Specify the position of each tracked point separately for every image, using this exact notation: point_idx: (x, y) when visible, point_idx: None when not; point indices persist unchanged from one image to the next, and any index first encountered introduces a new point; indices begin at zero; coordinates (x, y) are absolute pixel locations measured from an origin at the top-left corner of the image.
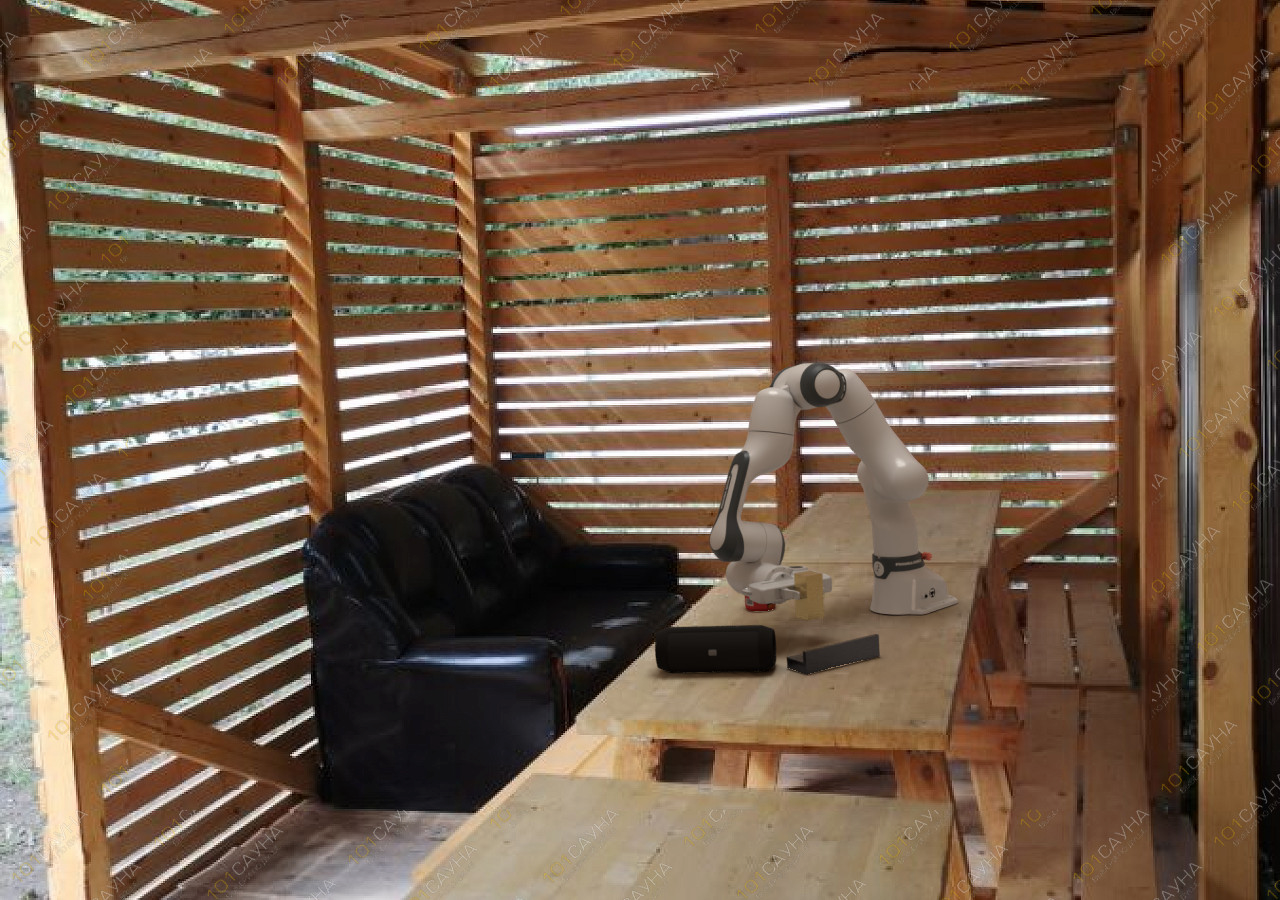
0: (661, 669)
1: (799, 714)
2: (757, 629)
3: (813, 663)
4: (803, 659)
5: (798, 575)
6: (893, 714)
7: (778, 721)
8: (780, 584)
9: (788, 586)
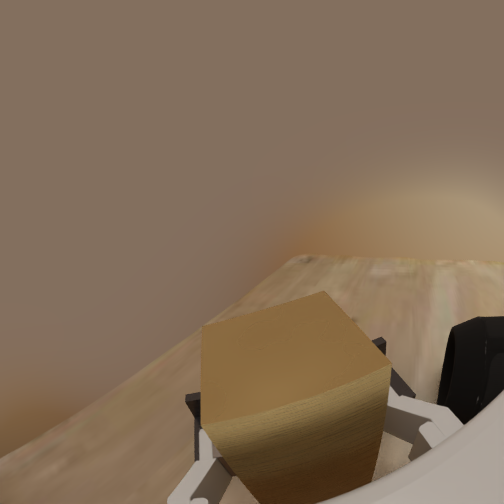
0: None
1: (399, 271)
2: (487, 317)
3: None
4: (385, 354)
5: (361, 337)
6: (315, 269)
7: (417, 262)
8: (479, 449)
9: (421, 455)
